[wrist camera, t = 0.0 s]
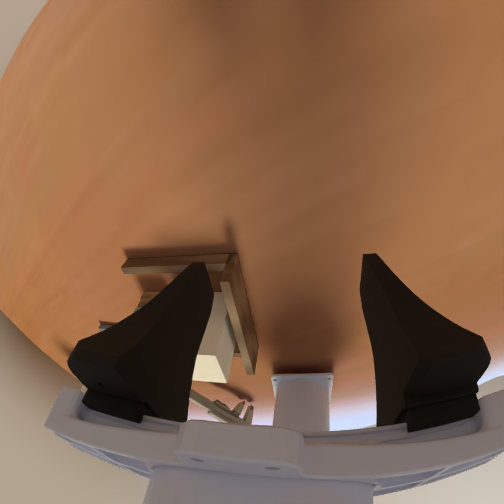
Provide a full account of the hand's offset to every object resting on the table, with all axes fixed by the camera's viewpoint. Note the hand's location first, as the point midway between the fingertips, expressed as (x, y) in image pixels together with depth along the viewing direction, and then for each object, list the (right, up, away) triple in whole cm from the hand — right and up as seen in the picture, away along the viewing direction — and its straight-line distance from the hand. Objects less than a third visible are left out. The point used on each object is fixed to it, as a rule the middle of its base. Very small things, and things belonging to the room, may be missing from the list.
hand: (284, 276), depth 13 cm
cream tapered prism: (-6, -5, +18) cm, 20 cm away
